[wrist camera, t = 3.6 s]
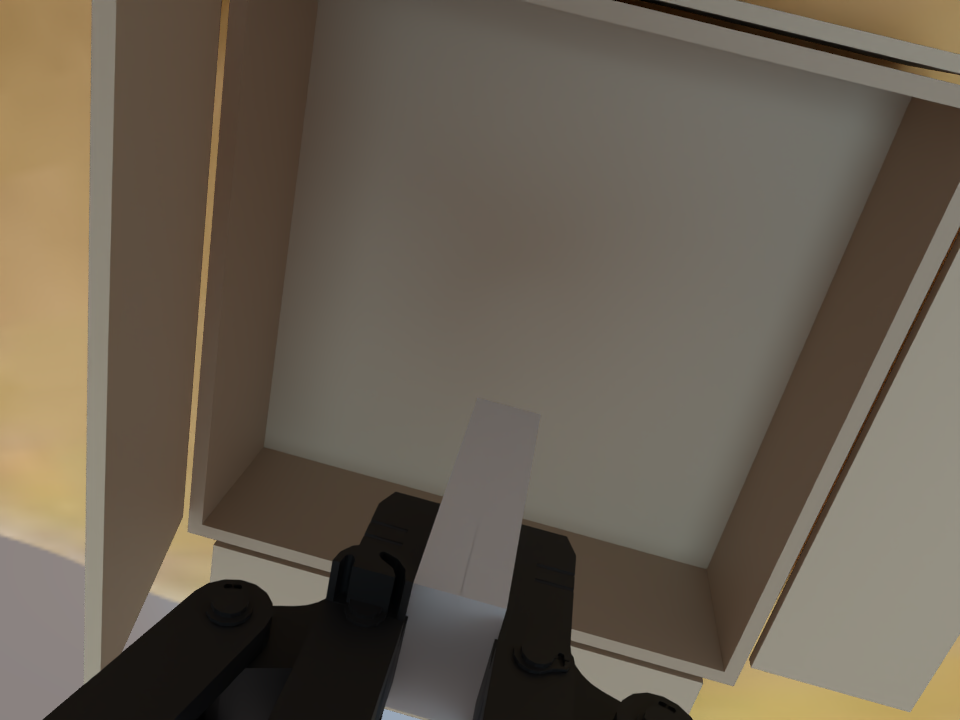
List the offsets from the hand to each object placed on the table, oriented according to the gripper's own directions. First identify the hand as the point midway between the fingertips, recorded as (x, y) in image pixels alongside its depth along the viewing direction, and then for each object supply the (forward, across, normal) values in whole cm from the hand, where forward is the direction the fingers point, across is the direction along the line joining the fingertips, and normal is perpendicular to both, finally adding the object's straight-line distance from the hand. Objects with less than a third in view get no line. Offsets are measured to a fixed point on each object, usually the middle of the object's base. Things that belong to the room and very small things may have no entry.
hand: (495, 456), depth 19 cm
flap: (+2, -9, 0) cm, 9 cm away
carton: (+12, +3, -3) cm, 13 cm away
